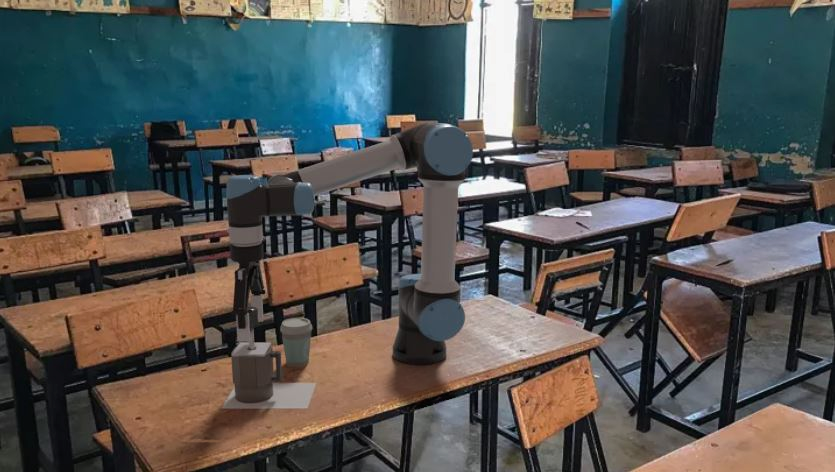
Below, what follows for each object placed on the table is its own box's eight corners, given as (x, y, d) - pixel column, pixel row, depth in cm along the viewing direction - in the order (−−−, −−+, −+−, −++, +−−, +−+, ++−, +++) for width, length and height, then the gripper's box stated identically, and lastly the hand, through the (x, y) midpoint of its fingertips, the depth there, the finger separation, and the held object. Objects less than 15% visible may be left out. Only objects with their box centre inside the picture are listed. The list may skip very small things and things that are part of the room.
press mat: (316, 384, 172) (316, 382, 172) (307, 410, 158) (307, 408, 158) (237, 384, 172) (237, 382, 172) (221, 410, 158) (221, 408, 158)
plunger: (262, 371, 166) (259, 306, 162) (259, 377, 162) (255, 311, 159) (247, 371, 166) (244, 306, 162) (243, 377, 162) (240, 311, 159)
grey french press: (285, 387, 169) (283, 341, 167) (278, 403, 161) (276, 355, 158) (240, 387, 169) (237, 341, 167) (230, 403, 161) (227, 355, 158)
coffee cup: (307, 371, 180) (305, 328, 177) (276, 369, 181) (274, 326, 179) (318, 359, 188) (316, 318, 185) (288, 357, 190) (287, 316, 187)
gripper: (243, 231, 169) (247, 313, 174) (214, 255, 145) (220, 350, 149) (273, 231, 169) (277, 313, 174) (249, 255, 145) (254, 350, 149)
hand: (250, 330), depth 161 cm, fingers open, 13 cm apart
